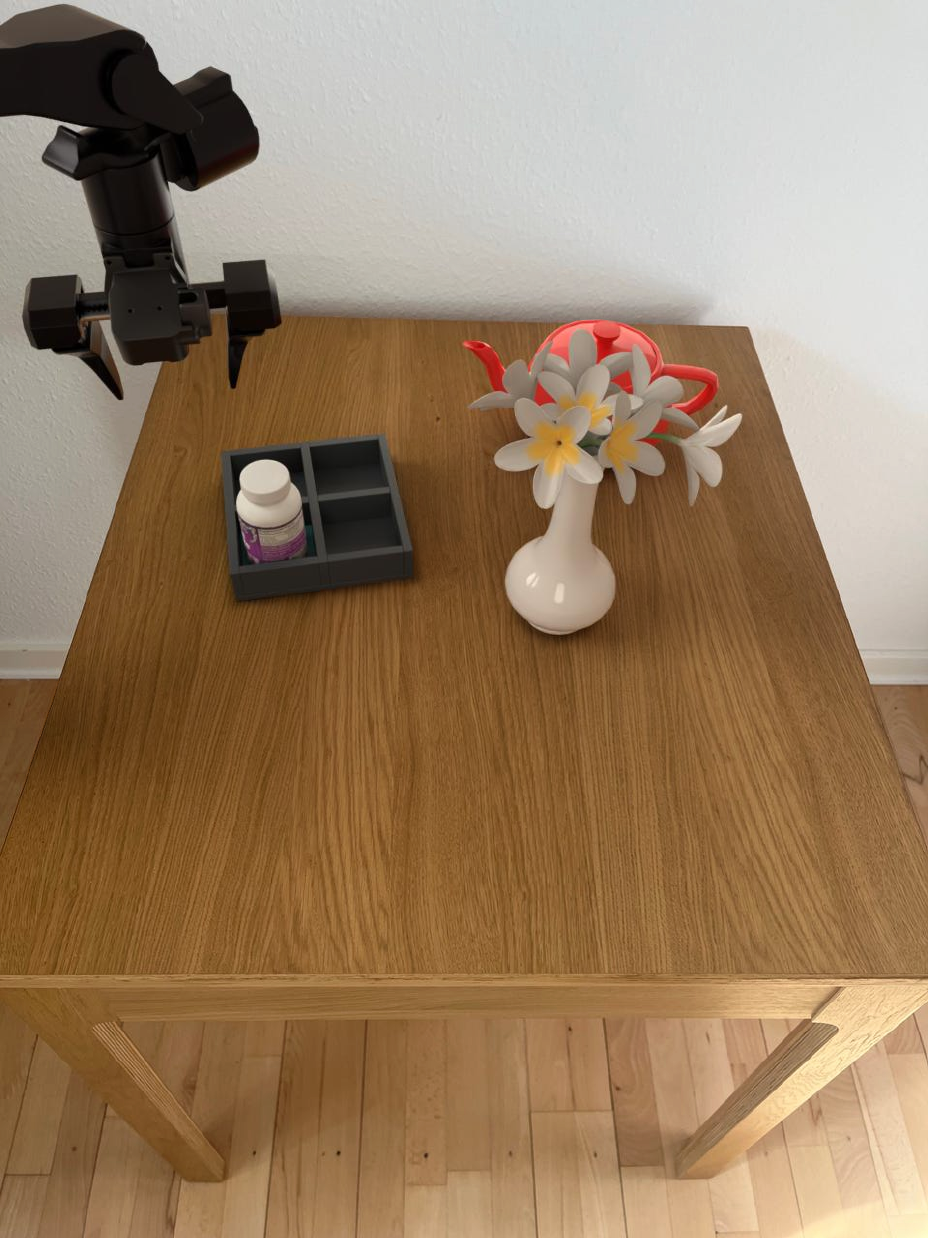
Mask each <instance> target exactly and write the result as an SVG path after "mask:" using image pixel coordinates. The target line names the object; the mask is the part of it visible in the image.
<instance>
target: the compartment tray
mask: <svg viewBox="0 0 928 1238" xmlns="http://www.w3.org/2000/svg"><path fill="white" fill-rule="evenodd" d="M220 459H221V473H222V485H223V487H222V488H223V500H224V511H225V526H226V538H227V552H228V553H227V554H228V563H229V564H228V566H229V577H230V580H231V584H232V588H233V592H234V596H235V601H236V602H242V601H250V600H258V599H265V598H274V597H280V596H281V597H282V596H288V595H289V596H290V595H296V594H303V593H312V592H319V591H325V590H333V589H340V588H348V587H355V586H362V585H363V586H364V585H370V584H378V583H384V582H385V583H386V582H393V581H401V580H409V579H413V578H414V550H413V545H412V540H411V536H410V532H409V529H408V524H407V523H408V522H407V520H406V515H405V511H404V506H403V502H402V498H401V494H400V489H399V485H398V482H397V477H396V473H395V469H394V463H393V461H392V460H393V459H392V456H391V452H390V448H389V443H388V439H387V436H386V433H378V434H377V433H375V434H374V433H373V434H365V435H364V434H363V435H356V436H355V435H354V436H346V437H340V438H339V437H337V438H328V439H320V440H319V439H318V440H311V441H301V442H293V443H283V444H274V445H273V444H272V445H266V446H265V445H264V446H256V447H255V446H254V447H247V448H239V449H236V448H235V449H230V450H229V449H228V450H221V451H220ZM259 460H273V461H277V462H280V463H281V464H283V465H284V466H285V467H286V468H287V470H288V472H289V476H290V481H291V483H292V484H294V486H295V487H296V488H297V489H298V491H299V493H300V496H301V502H302V510H303V518H304V526H305V533H306V540H307V547H308V554H307V557H306V558H300V559H292V560H284V561H276V562H268V563H261V564H253V565H251V564H250V562H249V560H248V557H247V553H246V548H245V544H244V540H243V535H242V531H241V526H240V521H239V517H238V512H237V506H236V501H237V496H238V494H239V492H240V490H241V485H240V474H241V472H242V470H243V469H244V468H245V467H246V466H247V465H249V464H251V463H253V462H255V461H259Z"/></svg>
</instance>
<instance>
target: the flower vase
mask: <svg viewBox="0 0 928 1238" xmlns="http://www.w3.org/2000/svg"><path fill="white" fill-rule="evenodd" d="M552 344H553V340H552V341H550V342H549V343H548V344H547V345H546V346H545V347H544V348H543V349H542V350H541V351H540V352H539V353H538V354H536V353H535V354H536V355H535V354H534V355H533V357H534V359H533V358H532V359H533V360H534V361H533V363H532V365H531V368H530V372H528V369H527V367H528V365H527V364H526V362H525V361H524V359H516V360H514V362H512V363H510V364H509V366H507V368H505V370H506V371H505V372H504V375H503V378H502V383H503V386H504V388H505V389H506V391H507V392H508V393H509V394H507V393H505V392H502V391H496V392H495V391H493V392H490V393H488V394H487V393H486V394H485V395H483V396H481V397H479V398H477V399H475V401H473V402H472V403H470V404H469V405H468V407H467V410H470V411H471V410H479V411H480V412H484V411H488V410H492V409H493V410H494V409H512V408H515V410H514V414H515V420H516V422H517V424H518V426H519V427H520V429H521V430H522V432H523V433H524V434H525V435H526V436H528V437H529V438H523V439H520V440H519V439H518V440H516V441H512V442H511V443H508V444H506V445H504V446H502V447H501V448H500V449H498V451H496V453H495V454H494V456H493V457H494V458H493V461H494V465H495V466H496V467H497V468H499V469H501V470H504V471H508V472H522V471H527V470H531V469H533V468H535V467H536V470H534V475H533V478H532V479H533V480H532V494H533V497H534V500H535V502H536V504H537V505H538V507H540V509H545V510H548V509H550V508H552V507H553V509H552V514H551V518H550V521H549V524H548V527H547V529H546V531H545V533H544V535H541V536H537V537H535V538H534V539H532V540H530V541H528V542H526V543H525V544H523V545H522V546H521V548H519V549H518V550H517V551H516V552H515V553H514V554H513V556H512V558H511V560H510V562H509V563H508V566H507V568H506V571H505V577H504V587H505V593H506V597H507V599H508V601H509V602H510V604H511V606H512V608H513V609H514V610H515V611H516V613H518V614H519V615H520V616H521V617H522V618H523V619H524V620H525V621H526V622H527V623H528V624H529V625H530V626H532V627H533V628H534V629H536V630H537V631H540V632H542V633H546V634H549V635H555V636H562V635H563V636H564V635H570V634H573V633H575V632H578V631H579V630H582V629H585V628H589V627H590V626H592V625H593V624H595V623H597V622H598V621H600V620H602V618H603V617H604V616H605V615H606V614H607V613H608V611H609V610H610V609H611V607H612V604H613V602H614V600H615V598H616V586H617V585H616V584H617V583H616V582H617V581H616V576H615V573H614V569H613V566H612V564H611V562H610V561H609V559H608V558H607V556H606V555H605V554H604V552H603V551H602V550H601V549H600V548H598V547H597V546H596V545H595V544H594V543H593V539H592V527H593V518H594V513H595V512H594V511H595V505H596V499H597V493H598V489H599V485H600V482H602V480H603V477H604V472H605V469H609V468H612V471H613V473H614V475H615V478H616V482H617V487H618V490H619V493H620V496H621V499H622V501H623V502H624V503H625V504H626V505H631V504H632V502H633V501H634V499H635V497H636V496H635V495H636V491H637V478H636V474H635V471H634V470H633V469H635V470H637V471H639V472H641V473H643V474H645V475H647V476H652V477H657V476H662V475H663V474H664V472H665V469H666V461H665V459H664V456H663V454H662V453H661V452H660V450H658V448H656V446H655V447H654V446H652V445H650V444H648V443H646V442H641V441H635V440H639V439H660V440H661V441H664V442H668V443H671V444H673V445H676V446H678V447H680V448H681V451H682V455H683V459H684V463H685V470H686V476H687V487H688V489H687V490H688V505H689V507H691V508H692V507H693V505H694V504H695V502H696V499H697V497H698V493H699V490H700V476H701V478H702V479H703V480H704V483H706V484H707V485H708V486H709V487H711V488H717V486H719V483H720V482H721V481H722V477H723V462H722V459H721V457H720V455H719V454H718V452H717V451H715V450H713V449H712V447H715V448H716V447H719V446H721V445H723V444H724V443H726V442H727V441H728V440H729V439H730V438H731V437H732V436H733V435H734V434H735V432H736V431H737V429H738V428H739V426H740V424H741V423H742V420H743V414H742V413H736V414H734V415H732V416H730V417H729V418H727V419H725V420H724V418H725V416H726V414H727V411H728V405H727V404H725V405H724V406H723V407H722V408H721V409H720V410H719V411H717V413H716V414H715V415H714V416H713V417H712V418H711V419H710V420H709V421H708V422H707V423H706V424H704V425H703V426H702V427H701V428H700V427H699V426H698V424H697V423H696V422H695V421H694V420H693V418H692V417H690V415H689V416H688V415H687V414H685V413H684V412H682V411H681V410H679V409H676V408H666V407H667V406H669V405H671V404H676V402H678V401H680V400H681V399H682V397H683V396H684V393H685V392H684V391H685V390H684V387H683V385H682V383H681V382H680V380H678V378H673V377H671V376H663V377H660V378H658V379H656V380H655V381H653V383H651V384H650V385H649V382H650V380H651V371H650V367H649V364H648V361H647V359H646V357H645V355H644V354H643V352H642V351H641V349H640V348H639V347H638V346H637V345H635V344H633V348H632V350H633V353H630V352H620V353H615V354H612V355H610V356H607V357H605V358H604V359H602V360H601V361H600V363H599V364H596V362H597V347H596V342H595V340H594V338H593V336H592V335H591V334H590V332H588V331H587V330H585V329H577V330H576V331H575V332H573V334H572V335H571V338H570V341H569V366H570V368H569V366H568V364H567V362H566V361H565V360H564V359H563V358H561V357H559V356H557V355H554V354H551V353H549V351H550V348H551V346H552ZM633 366H634V368H633ZM542 369H543V370H544V371H542ZM627 370H629V372H630V376H631V380H632V384H633V395H631V394H627V393H626V392H625V391H623V390H622V388H621V387H620V386H619V385H617V384H615V383H613V382H610V381H611V380H612V379H613V378H615V377H617V376H619V375H621V374H622V373H624V372H626V371H627ZM538 381H539V383H540V384H541V386H542V387H543V388H544V389H545V390H546V391H547V393H548V394H549V395H550V396H551V397H552V398H553V399H554V400H555V402H556V403H557V404H555V403H547V404H544V405H542V406H538V405H537V404H536V403H535V401H534V399H535V392H536V388H537V384H538ZM648 385H649V386H648ZM603 399H605V400H604V401H603ZM602 401H603V402H602ZM663 408H665V409H663ZM610 417H612V422H610V420H609V419H608V418H610ZM659 419H662V420H666V421H669V422H670V423H673V424H676V425H679V426H681V427H683V428H686V429H689V430H692V431H695V432H694V433H692V434H691V435H690V436H688V437H686V438H685V439H684V438H681V437H677V436H674V435H671V434H668V433H666V434H663V433H657V432H652V430H653V429H654V428H655V426H656V425H657V423H658V421H659ZM530 436H531V437H534V438H531V437H530ZM710 447H711V448H710ZM699 475H700V476H699Z"/></svg>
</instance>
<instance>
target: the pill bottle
mask: <svg viewBox="0 0 928 1238" xmlns="http://www.w3.org/2000/svg"><path fill="white" fill-rule="evenodd" d="M240 485H241V490H240V492H239V494H238V496H237V501H236V506H237V512H238V517H239V521H240V526H241V531H242V535H243V540H244V544H245V548H246V553H247V557H248V560H249V562H250V564H251V565H253V564H261V563H268V562H276V561H284V560H292V559H300V558H306V557H307V554H308V547H307V540H306V533H305V526H304V518H303V510H302V502H301V496H300V493H299V491H298V489H297V488H296V487H295V486H294V484H292V483H291V481H290V476H289V472H288V470H287V468H286V467H285V466H284V465H283V464H281V463H280V462H277V461H273V460H259V461H255V462H253V463H251V464H249V465H247V466H246V467H245V468H244V469H243V470H242V472H241V474H240Z"/></svg>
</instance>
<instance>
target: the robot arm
mask: <svg viewBox="0 0 928 1238" xmlns="http://www.w3.org/2000/svg"><path fill="white" fill-rule="evenodd" d="M232 80H233V79H232V76H231V74H230V73H228V72H226V71H223V70H221V69H219V68H216V67H214V66H211V65H210V66H207V67H204V68H202V69H200V70H197V72H195V73H194V74H193V75H191V76H190V77H188V78H185V79H183V80H181V81H179V82H176V83H174V84H173V83H172V82H171V81H170V80H169V79H168V78H167V77H166V76H165V75H164V73H162V72H161V70H160V65H159V61H158V58H157V56H156V54H155V51H154V49H153V48H152V46H151V45H150V43H149V42H148V41H147V39H146V37H145V36H144V35H143V34H142V33H140V32H138V31H136V30H134V29H131V28H129V27H126V26H124V25H122V24H119V23H117V22H114V21H112V20H110V19H107V18H105V17H102V16H100V15H98V14H95V13H93V12H90V11H89V10H86V9H83V8H81V7H78V6H76V5H73V4H68V3H59V4H53V5H49V6H45V7H41V8H35V9H32V10H28V11H24V12H19V13H16V14H14V15H13V16H12V17H10V18H8V19H7V20H6V21H4V22H3V23H1V24H0V118H6V117H17V116H28V117H36V118H44V119H49V120H53V121H57V122H61V123H65V124H70V125H74V126H79V127H82V128H83V127H85V128H84V129H81V130H79V131H76V130H74V129H72V128H69V127H68V126H65V125H63V124H60V125H58V126H57V129H56V132H55V135H54V137H53V138H52V140H51V141H50V142H49V143H48V144H47V145H46V147H45V149H44V151H43V153H42V155H41V162H42V163H43V164H44V165H45V166H48V167H49V168H51V169H53V170H55V171H57V172H58V173H60V174H63V175H64V176H66V177H68V178H71V179H72V180H74V181H76V182H80V185H81V187H82V191H83V195H84V198H85V201H86V205H87V209H88V211H89V215H90V218H91V222H92V225H93V229H94V233H95V235H96V239H97V243H98V246H99V247H98V248H99V250H100V254H101V258H102V260H103V261H102V263H103V266H104V269H105V272H104V273H105V274H104V283H103V284H104V285H103V291H92V292H86V290H85V287H84V283H83V280H82V278H81V276H79V275H78V273H76V274H63V275H53V276H51V275H50V276H40V277H39V276H38V277H31V278H30V280H29V281H28V282H27V285H25V290H24V291H25V292H24V298H23V299H24V300H23V305H22V306H23V307H22V315H21V319H22V324H23V329H24V331H25V334H26V337H27V339H28V343H29V345H30V347H32V348H34V349H35V350H38V351H42V350H43V351H44V350H51V351H52V352H53V353H54V354H55V355H58V356H62V355H63V356H64V355H67V356H71V357H76V358H78V359H79V360H81V361H82V362H83V363H84V364H85V365H86V366H87V367H88V368H90V370H91V371H92V372H93V373H94V374H95V375H96V376H97V377H98V378H99V380H100V381H101V382H102V383H103V385H104V386H105V387H106V388H107V389H108V391H109V392H110V393H111V394H112V395H113V396H114V398H116V400H118V401H123V400H124V399H125V398H124V396H125V395H124V389H123V384H122V380H121V376H120V373H119V370H118V368H117V365H116V362H115V359H114V356H113V353H112V352H111V348H110V346H109V343H108V341H107V338H106V335H105V333H104V330H103V327H102V325H101V321H110V331H111V334H112V337H113V339H114V342H115V343H116V346H117V348H118V351H119V353H120V356H121V358H122V360H123V362H124V363H125V364H127V365H129V366H134V367H135V366H136V367H137V366H143V365H144V364H150V363H151V364H153V363H162V362H169V363H178V362H182V361H183V360H185V359H186V358H187V357H188V356H189V354H190V346H191V345H201V339H203V338H207V337H212V336H213V334H214V333H213V325H212V318H211V310H218V309H224V314H225V315H224V317H225V339H226V340H225V341H226V343H225V344H226V364H227V373H228V374H227V375H228V381H229V386H230V389H231V390H236V389H237V386H238V385H237V384H238V381H239V375H240V372H241V371H240V370H241V367H242V361H243V357H244V353H245V351H246V349H247V346H248V344H249V342H250V341H251V340H252V339H253V338H256V337H257V338H258V337H262V336H264V335H265V334H266V332H267V330H273V329H277V328H278V327H279V326H281V325H282V324H283V323H282V321H283V320H282V313H281V308H280V299H279V294H278V286H277V280H276V273H275V268H274V265H272V263H270V262H269V261H268V260H267V259H265V258H263V259H252V260H240V261H225V262H222V274H223V275H222V276H223V280H214V281H202V282H190V278H189V277H190V276H189V273H188V269H187V265H186V259H185V255H184V250H183V245H182V240H181V235H180V230H179V227H178V222H177V218H176V213H175V207H174V203H173V199H172V193H171V189H170V185H169V183H171V184H174V185H175V186H177V187H178V188H179V189H180V190H183V191H185V192H190V193H191V192H197V191H198V190H201V189H203V188H205V187H207V186H209V185H211V184H213V183H215V182H216V181H217V182H218V181H219V180H221V179H223V178H225V177H227V176H229V175H231V174H233V173H235V172H237V171H239V170H242V169H243V168H245V167H248V166H249V165H251V164H253V163H254V162H255V161H256V160H257V158H258V155H259V152H260V148H261V145H260V144H261V142H260V132H259V129H258V128H259V127H257V125H255V123H254V120H253V118H252V117H253V116H252V115H251V113H250V111H249V109H248V107H247V105H246V104H245V103H244V101H243V100H242V99H241V98H240V96H239V95H238V93H236V91H234V88H233V87H234V86H233V81H232Z"/></svg>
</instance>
